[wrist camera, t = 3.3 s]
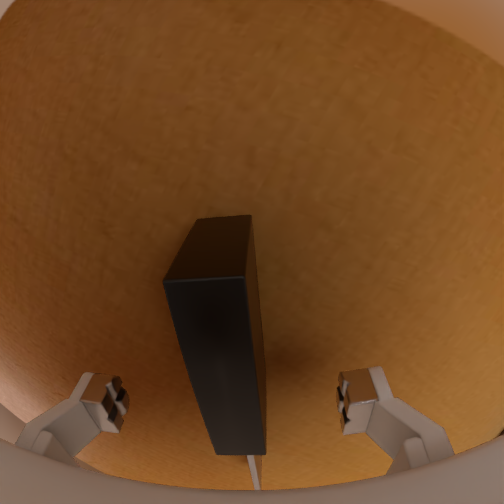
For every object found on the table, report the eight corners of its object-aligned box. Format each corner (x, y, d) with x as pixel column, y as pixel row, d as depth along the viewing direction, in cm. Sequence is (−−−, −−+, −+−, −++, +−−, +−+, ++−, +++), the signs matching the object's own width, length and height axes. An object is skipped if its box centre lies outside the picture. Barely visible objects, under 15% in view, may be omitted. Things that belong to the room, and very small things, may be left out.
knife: (196, 218, 13) (161, 280, 8) (251, 214, 12) (245, 276, 8) (244, 460, 20) (241, 515, 16) (273, 459, 20) (274, 515, 16)
